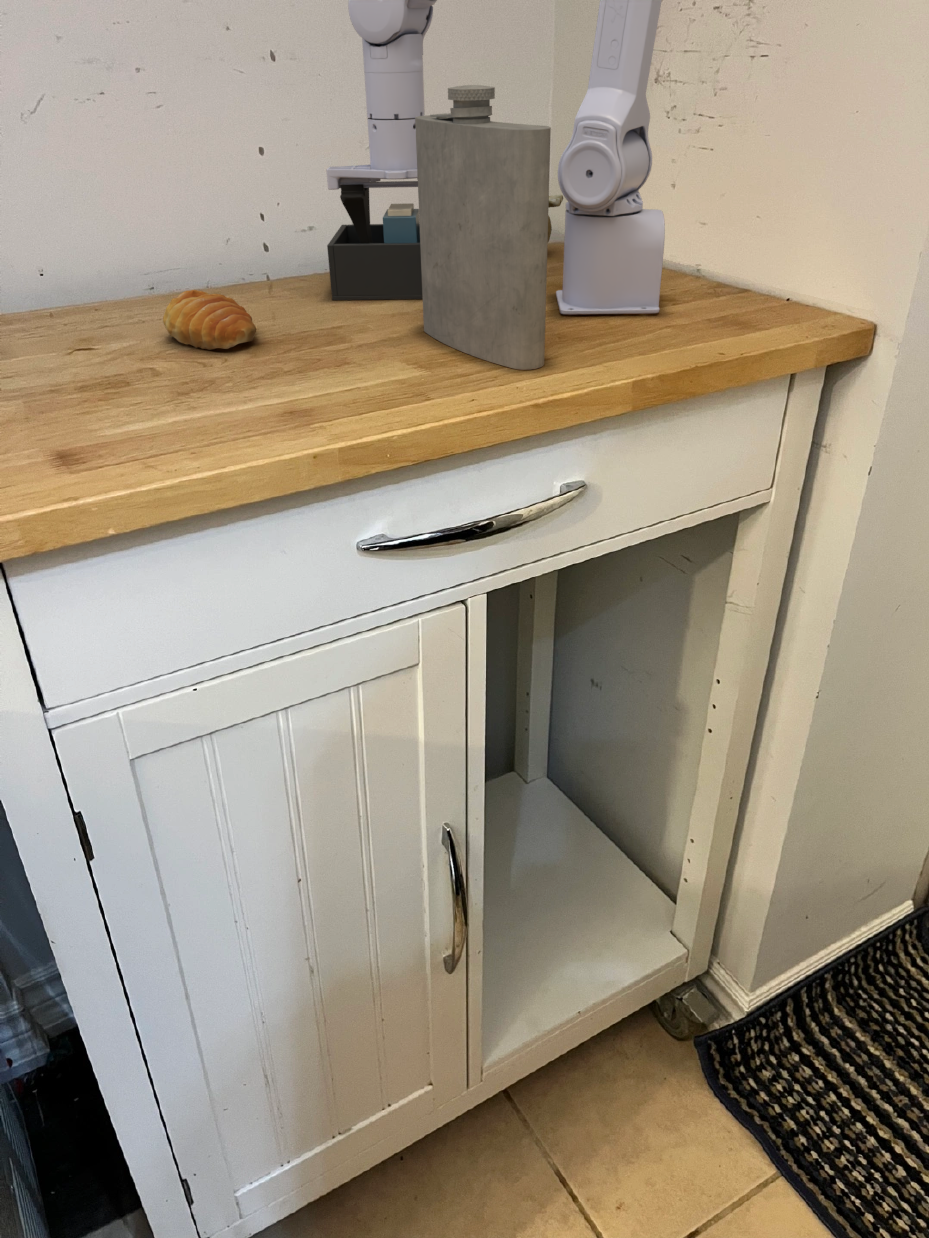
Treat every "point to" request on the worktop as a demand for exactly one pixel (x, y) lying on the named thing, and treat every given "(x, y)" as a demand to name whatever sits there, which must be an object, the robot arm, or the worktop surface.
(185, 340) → the pastry
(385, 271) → the bin
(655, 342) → the worktop surface
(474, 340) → the hip flask
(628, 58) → the robot arm
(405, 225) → the juice carton
